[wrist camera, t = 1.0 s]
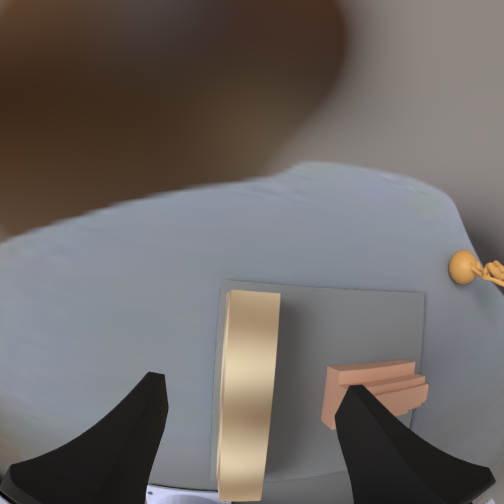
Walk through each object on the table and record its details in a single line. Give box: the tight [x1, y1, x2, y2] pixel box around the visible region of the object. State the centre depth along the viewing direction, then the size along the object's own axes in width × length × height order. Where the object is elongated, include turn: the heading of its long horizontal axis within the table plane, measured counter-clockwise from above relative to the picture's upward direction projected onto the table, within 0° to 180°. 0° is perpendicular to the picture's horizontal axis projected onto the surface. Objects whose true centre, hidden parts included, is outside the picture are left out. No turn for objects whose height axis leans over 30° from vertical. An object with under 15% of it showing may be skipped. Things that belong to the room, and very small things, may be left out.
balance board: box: [210, 280, 429, 483], centre depth 18 cm, size 18×20×6 cm
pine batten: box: [216, 290, 281, 502], centre depth 17 cm, size 16×3×4 cm, turn 176°
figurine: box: [449, 250, 504, 287], centre depth 20 cm, size 8×6×12 cm
